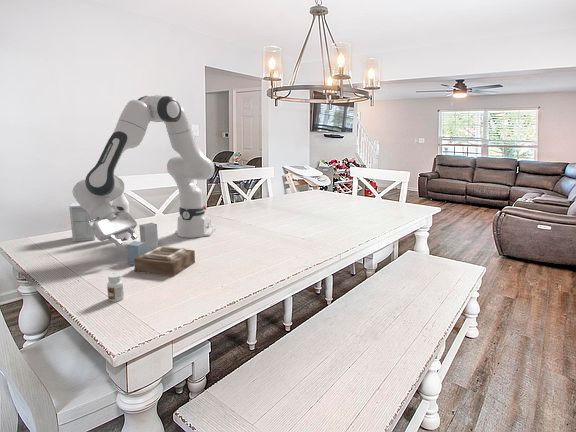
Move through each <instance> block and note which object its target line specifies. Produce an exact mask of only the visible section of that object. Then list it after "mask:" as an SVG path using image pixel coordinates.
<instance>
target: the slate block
mask: <svg viewBox="0 0 576 432" xmlns="http://www.w3.org/2000/svg"><path fill="white" fill-rule="evenodd" d="M145 253H146V242H141V241H136V240H133V241H132V242H130V243H127V244H126V256H127V264H133V265H134V259H135V258H137V257H139V256H141V255H143V254H145Z"/></svg>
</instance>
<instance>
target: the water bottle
mask: <svg viewBox="0 0 576 432" xmlns="http://www.w3.org/2000/svg"><path fill="white" fill-rule="evenodd" d="M111 205H114V206H121V207H124V208H125V212H127V213H129V214H130V203H129V201H128V199H127V197H126V196H125V193H124V191H123V193H122V194H121V195H120V196H119V197H117V198H116V199H114V200H112V203H111ZM115 238H116V239H118V240H121V241H123V240H124V239H125V240H129V239H130V238H131V234H130V233H128V232H126V233H123V234H120V235H117V236H115Z"/></svg>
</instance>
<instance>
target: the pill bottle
mask: <svg viewBox="0 0 576 432" xmlns="http://www.w3.org/2000/svg"><path fill="white" fill-rule="evenodd" d="M107 279H108V282H107V284H106V288H107V289H106V290H107V299H108V301H109V302H113V303H115V302H120V301H122V300H123V299H124V298H125V296H124V295H125V294H124V282H123V281H122V276H121V274H120V273H111V274H108V277H107Z"/></svg>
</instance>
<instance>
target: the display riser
mask: <svg viewBox="0 0 576 432" xmlns="http://www.w3.org/2000/svg"><path fill="white" fill-rule="evenodd" d="M195 255H196V253H195V250H193V249H192V250H191V249H186V248H181V247H173V246H166V245H165V246H164V245H163V246H162V245H160V246H158V247H157V248H155V249H153V250H151V251H149V252H147V253H145V254H143V255H141V256H139V257H137V258H135V259H134V264H133V265H134V272H135V273H142V274H143V273H144V274H151V275H157V276H169V277H175V276H178V274H180V273H181V272H183V271H184V270H186V269H187V268H189V267H190V266H191V265H194V264H195V263H196V260H195V259H196V257H195Z"/></svg>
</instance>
